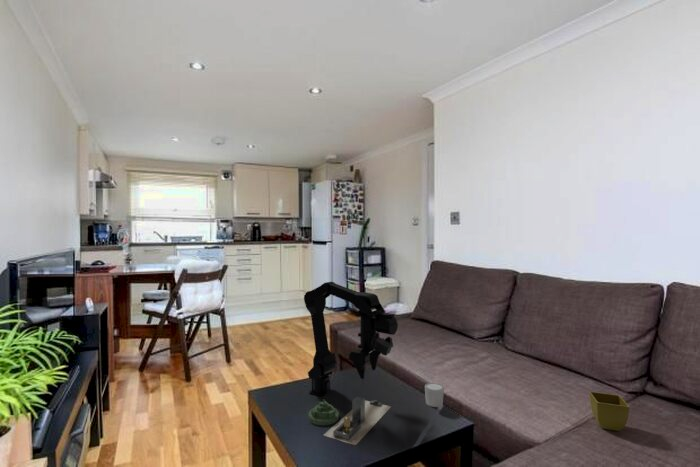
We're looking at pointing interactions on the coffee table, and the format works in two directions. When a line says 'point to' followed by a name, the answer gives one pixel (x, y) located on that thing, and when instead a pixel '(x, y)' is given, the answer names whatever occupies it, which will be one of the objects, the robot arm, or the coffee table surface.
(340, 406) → the coffee table surface
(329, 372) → the robot arm
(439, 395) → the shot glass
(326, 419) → the decorative artifact
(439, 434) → the coffee table surface
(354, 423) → the end link
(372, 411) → the tie-down board
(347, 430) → the keeper post
